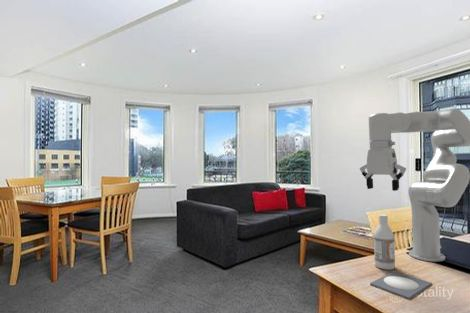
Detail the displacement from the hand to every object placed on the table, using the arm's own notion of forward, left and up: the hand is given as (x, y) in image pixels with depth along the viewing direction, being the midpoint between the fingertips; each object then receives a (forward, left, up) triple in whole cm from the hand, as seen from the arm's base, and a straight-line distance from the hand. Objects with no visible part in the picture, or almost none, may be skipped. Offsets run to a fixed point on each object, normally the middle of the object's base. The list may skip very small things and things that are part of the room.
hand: (382, 189), depth 107 cm
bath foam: (0, 0, -30) cm, 30 cm away
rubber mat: (+11, +11, -30) cm, 34 cm away
